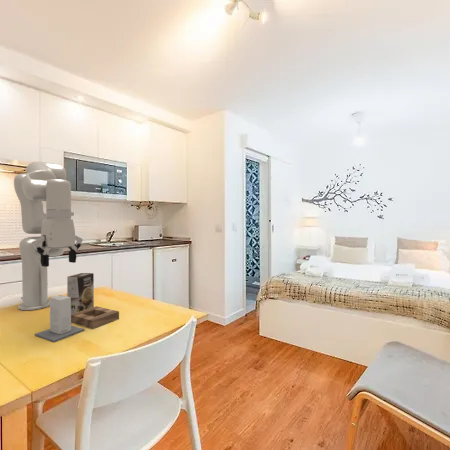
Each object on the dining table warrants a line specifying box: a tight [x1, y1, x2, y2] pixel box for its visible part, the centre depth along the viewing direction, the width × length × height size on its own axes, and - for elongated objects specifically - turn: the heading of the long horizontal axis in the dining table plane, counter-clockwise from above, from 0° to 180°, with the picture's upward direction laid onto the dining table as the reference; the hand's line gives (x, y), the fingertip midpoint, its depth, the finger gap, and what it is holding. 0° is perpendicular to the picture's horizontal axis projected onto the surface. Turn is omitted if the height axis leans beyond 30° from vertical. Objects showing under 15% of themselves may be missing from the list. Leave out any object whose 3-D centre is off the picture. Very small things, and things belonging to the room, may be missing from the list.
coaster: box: [34, 324, 85, 343], centre depth 101 cm, size 11×11×1 cm
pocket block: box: [71, 306, 120, 330], centre depth 113 cm, size 14×12×3 cm
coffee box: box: [66, 272, 95, 314], centre depth 123 cm, size 9×6×16 cm
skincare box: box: [49, 295, 72, 334], centre depth 101 cm, size 6×4×12 cm
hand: (59, 264), depth 100 cm, fingers open, 9 cm apart
